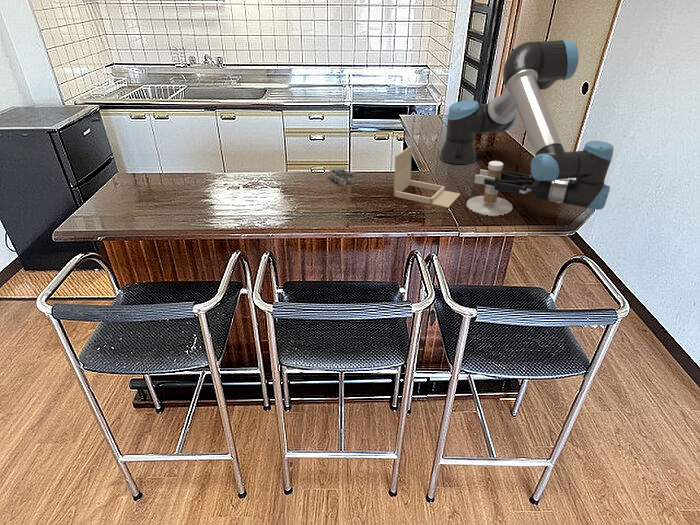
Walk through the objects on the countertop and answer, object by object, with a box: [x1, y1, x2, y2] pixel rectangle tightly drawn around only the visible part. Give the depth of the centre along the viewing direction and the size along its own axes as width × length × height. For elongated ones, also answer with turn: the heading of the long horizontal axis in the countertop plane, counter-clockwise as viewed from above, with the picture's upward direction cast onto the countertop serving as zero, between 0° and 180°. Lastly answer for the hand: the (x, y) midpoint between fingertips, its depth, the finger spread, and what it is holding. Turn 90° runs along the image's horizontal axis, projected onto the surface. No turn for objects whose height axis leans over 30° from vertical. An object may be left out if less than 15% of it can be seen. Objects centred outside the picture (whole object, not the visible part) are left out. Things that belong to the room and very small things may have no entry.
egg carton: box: [328, 168, 356, 186], centre depth 171 cm, size 11×8×4 cm
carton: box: [393, 145, 461, 209], centre depth 154 cm, size 21×13×15 cm, turn 59°
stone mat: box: [466, 195, 513, 217], centre depth 149 cm, size 15×15×1 cm
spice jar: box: [483, 160, 504, 203], centre depth 144 cm, size 5×5×13 cm
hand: (477, 176), depth 146 cm, fingers closed on spice jar, 4 cm apart
